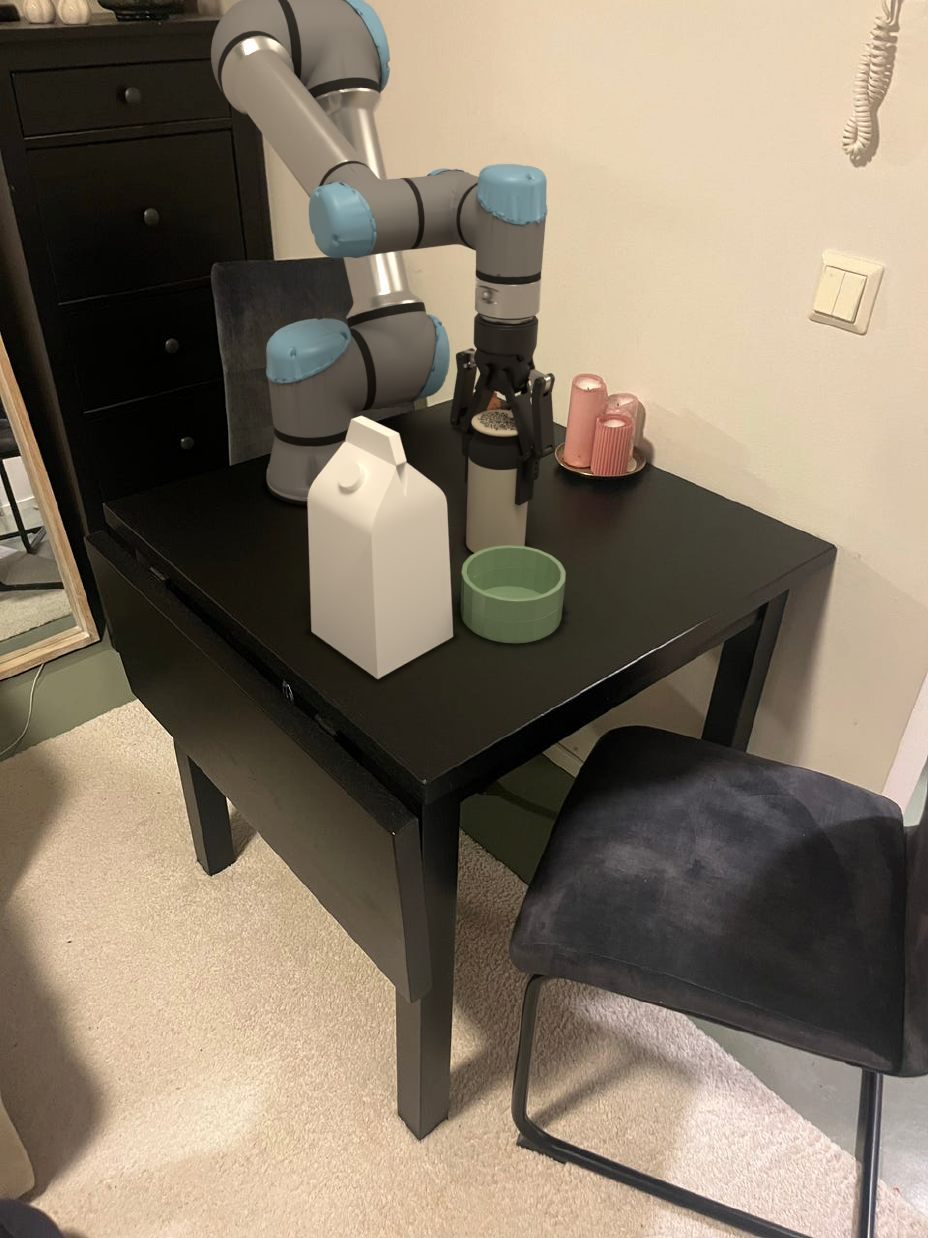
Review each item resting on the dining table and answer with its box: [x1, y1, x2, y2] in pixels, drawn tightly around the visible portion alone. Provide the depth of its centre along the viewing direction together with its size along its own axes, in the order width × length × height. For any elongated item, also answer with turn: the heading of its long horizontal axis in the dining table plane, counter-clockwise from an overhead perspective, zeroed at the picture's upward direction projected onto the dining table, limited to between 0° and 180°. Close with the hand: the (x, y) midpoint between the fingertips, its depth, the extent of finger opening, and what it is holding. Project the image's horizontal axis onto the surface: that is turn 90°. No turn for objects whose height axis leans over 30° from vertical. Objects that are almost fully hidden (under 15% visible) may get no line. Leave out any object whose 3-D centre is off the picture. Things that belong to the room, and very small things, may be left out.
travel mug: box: [465, 409, 529, 554], centre depth 118 cm, size 8×8×18 cm
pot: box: [460, 545, 567, 644], centre depth 108 cm, size 12×12×6 cm
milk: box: [307, 415, 454, 680], centre depth 98 cm, size 12×12×26 cm
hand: (498, 490), depth 118 cm, fingers closed on travel mug, 8 cm apart
